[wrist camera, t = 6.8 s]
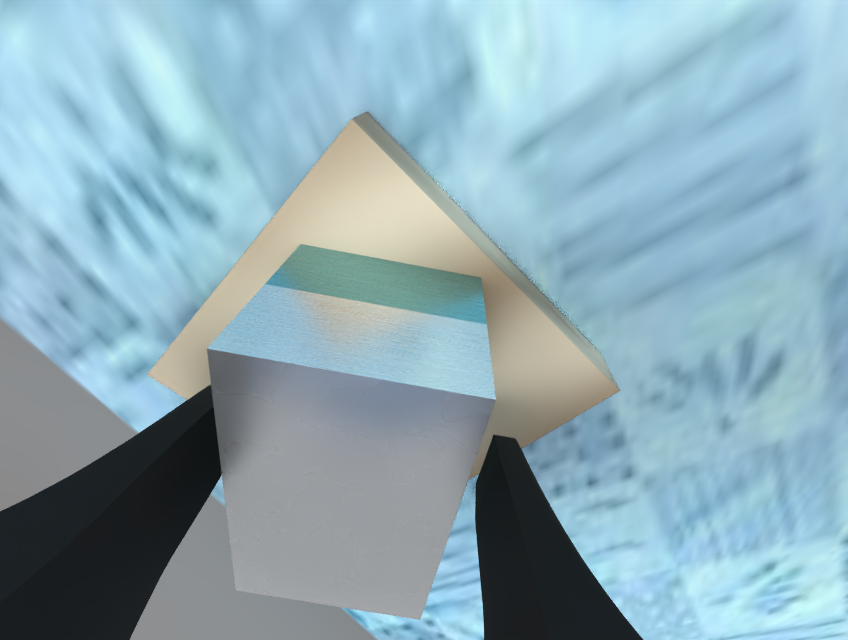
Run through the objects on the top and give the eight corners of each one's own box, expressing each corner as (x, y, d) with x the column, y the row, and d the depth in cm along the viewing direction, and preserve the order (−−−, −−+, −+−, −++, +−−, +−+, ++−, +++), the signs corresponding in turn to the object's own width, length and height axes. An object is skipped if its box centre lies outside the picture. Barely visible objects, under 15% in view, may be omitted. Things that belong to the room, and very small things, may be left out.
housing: (430, 469, 16) (420, 619, 11) (297, 446, 15) (235, 590, 11) (481, 277, 12) (495, 399, 7) (300, 243, 11) (206, 348, 7)
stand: (601, 353, 15) (620, 390, 13) (394, 486, 19) (388, 527, 18) (367, 111, 11) (351, 119, 10) (180, 341, 16) (147, 374, 14)
